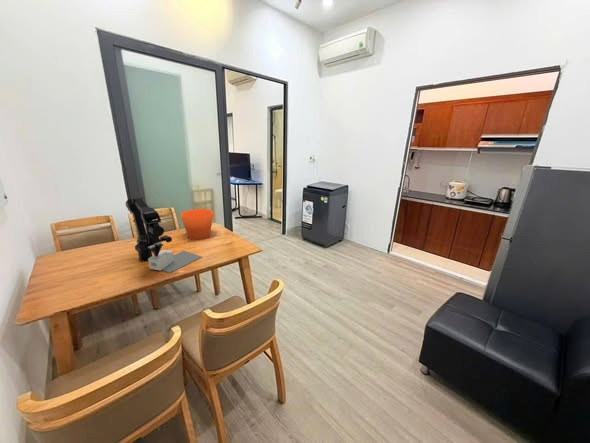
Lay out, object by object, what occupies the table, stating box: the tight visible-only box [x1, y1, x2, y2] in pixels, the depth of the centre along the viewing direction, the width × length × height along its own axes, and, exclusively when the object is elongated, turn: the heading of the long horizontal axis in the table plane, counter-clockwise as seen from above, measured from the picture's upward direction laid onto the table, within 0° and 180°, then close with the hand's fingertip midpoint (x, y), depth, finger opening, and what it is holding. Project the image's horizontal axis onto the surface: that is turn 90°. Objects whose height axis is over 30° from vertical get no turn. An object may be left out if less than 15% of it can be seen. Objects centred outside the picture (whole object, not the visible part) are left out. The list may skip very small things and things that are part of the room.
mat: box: [161, 250, 203, 274], centre depth 154 cm, size 24×18×1 cm
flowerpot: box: [179, 208, 215, 241], centre depth 192 cm, size 25×25×20 cm
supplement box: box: [147, 249, 175, 271], centre depth 147 cm, size 7×7×13 cm
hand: (156, 256), depth 141 cm, fingers closed
